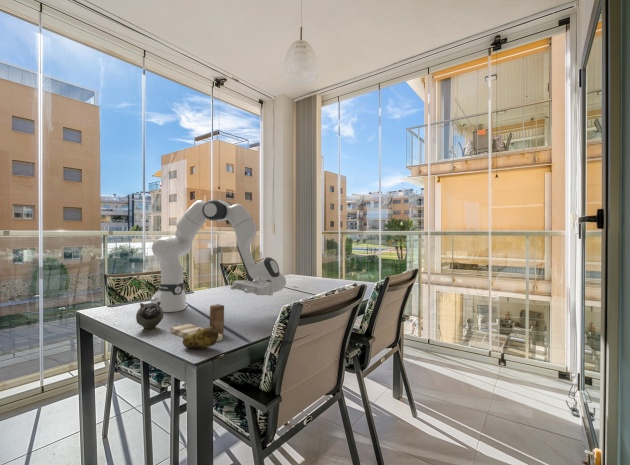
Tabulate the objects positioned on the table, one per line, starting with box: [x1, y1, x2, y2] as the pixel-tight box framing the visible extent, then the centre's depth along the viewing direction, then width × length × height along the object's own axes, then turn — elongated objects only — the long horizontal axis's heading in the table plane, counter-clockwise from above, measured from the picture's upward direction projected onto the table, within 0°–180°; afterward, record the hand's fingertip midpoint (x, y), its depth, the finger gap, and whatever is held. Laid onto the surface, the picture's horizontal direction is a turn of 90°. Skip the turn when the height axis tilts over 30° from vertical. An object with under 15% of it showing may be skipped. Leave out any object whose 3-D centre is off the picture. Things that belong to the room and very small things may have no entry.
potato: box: [182, 327, 218, 350], centre depth 117 cm, size 8×13×8 cm, turn 60°
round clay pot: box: [135, 301, 164, 333], centre depth 136 cm, size 10×12×10 cm
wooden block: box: [197, 303, 225, 335], centre depth 130 cm, size 4×11×12 cm, turn 145°
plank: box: [169, 322, 224, 342], centre depth 131 cm, size 24×8×2 cm, turn 55°
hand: (238, 289), depth 144 cm, fingers open, 8 cm apart
